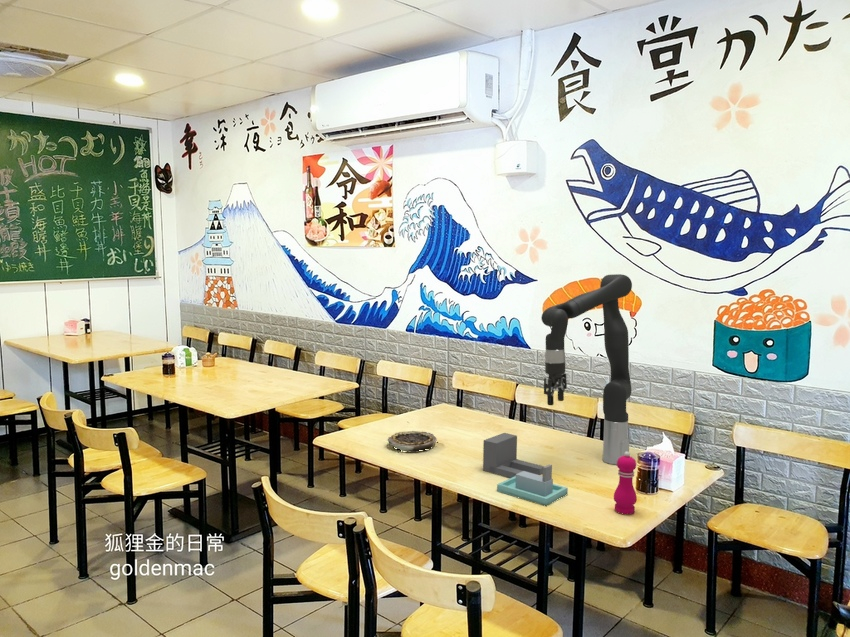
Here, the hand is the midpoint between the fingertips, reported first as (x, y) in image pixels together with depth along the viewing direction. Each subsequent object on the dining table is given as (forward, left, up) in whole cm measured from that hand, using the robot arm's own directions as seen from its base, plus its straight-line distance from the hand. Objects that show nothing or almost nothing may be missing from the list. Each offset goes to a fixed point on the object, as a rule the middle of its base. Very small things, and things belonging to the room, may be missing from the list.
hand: (555, 402), depth 251 cm
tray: (-6, +26, -27) cm, 38 cm away
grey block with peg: (-7, +26, -26) cm, 37 cm away
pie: (+61, +14, -27) cm, 69 cm away
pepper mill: (-37, +19, -27) cm, 50 cm away
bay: (+11, +12, -27) cm, 31 cm away
